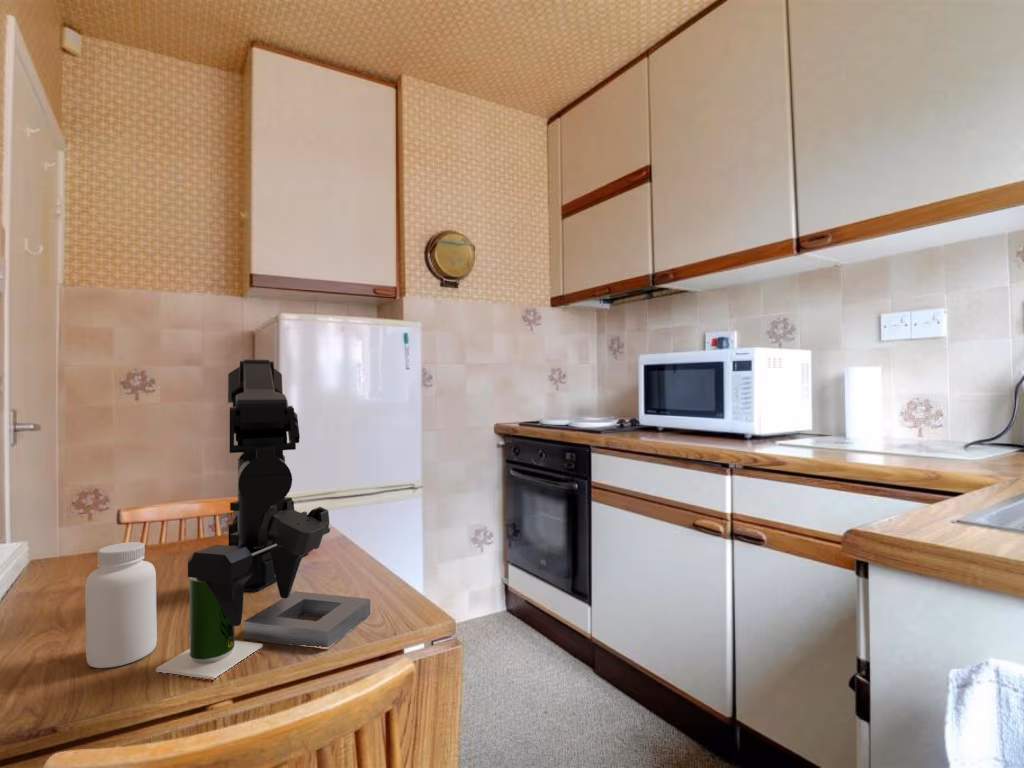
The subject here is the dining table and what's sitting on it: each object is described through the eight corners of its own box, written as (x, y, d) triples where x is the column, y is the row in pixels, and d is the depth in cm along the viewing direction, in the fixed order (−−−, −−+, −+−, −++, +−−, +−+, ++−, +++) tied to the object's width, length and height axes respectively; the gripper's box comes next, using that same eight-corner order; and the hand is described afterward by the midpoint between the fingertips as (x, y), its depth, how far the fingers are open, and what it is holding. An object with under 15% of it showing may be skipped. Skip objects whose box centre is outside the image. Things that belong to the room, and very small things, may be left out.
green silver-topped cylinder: (189, 669, 70) (189, 576, 70) (189, 651, 75) (189, 564, 75) (236, 658, 73) (236, 569, 73) (232, 642, 77) (233, 558, 77)
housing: (243, 639, 79) (243, 621, 79) (295, 606, 91) (295, 591, 91) (328, 650, 76) (328, 631, 76) (370, 614, 88) (370, 598, 88)
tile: (155, 672, 70) (155, 668, 70) (210, 640, 79) (210, 636, 79) (213, 680, 68) (213, 676, 68) (262, 647, 77) (262, 643, 77)
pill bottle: (110, 642, 78) (110, 539, 78) (168, 640, 79) (168, 538, 79) (70, 671, 70) (70, 556, 70) (135, 668, 71) (135, 554, 71)
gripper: (264, 510, 60) (265, 650, 60) (353, 482, 79) (354, 590, 78) (183, 506, 63) (183, 639, 63) (287, 480, 81) (287, 584, 81)
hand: (261, 610), depth 71 cm, fingers open, 9 cm apart
